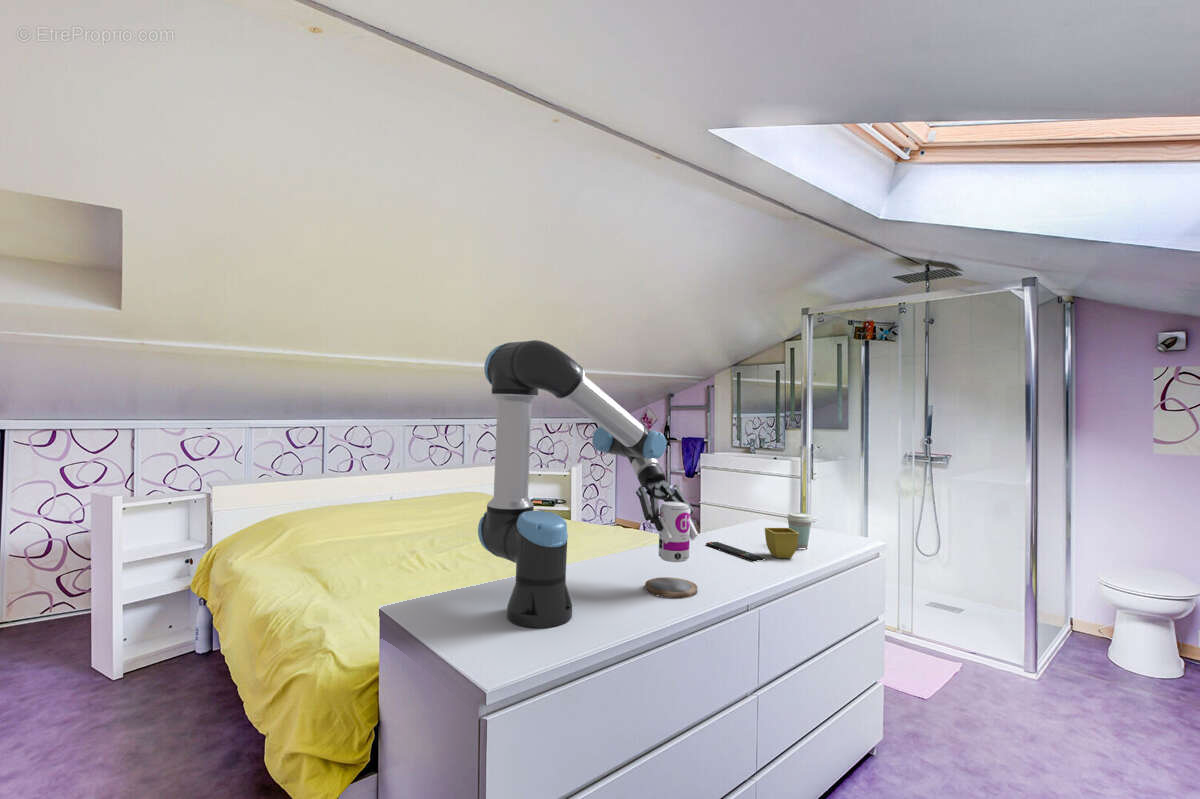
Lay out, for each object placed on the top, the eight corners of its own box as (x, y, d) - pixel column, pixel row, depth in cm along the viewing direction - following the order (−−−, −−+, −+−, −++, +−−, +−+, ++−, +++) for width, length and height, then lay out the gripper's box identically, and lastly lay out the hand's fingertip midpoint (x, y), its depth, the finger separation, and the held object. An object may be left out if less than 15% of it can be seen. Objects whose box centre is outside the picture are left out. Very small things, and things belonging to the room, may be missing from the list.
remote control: (752, 563, 187) (752, 559, 187) (704, 546, 208) (705, 542, 208) (764, 561, 189) (764, 557, 189) (716, 545, 210) (716, 541, 210)
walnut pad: (666, 601, 146) (666, 596, 146) (635, 585, 158) (635, 581, 158) (708, 593, 153) (708, 588, 154) (675, 579, 166) (675, 574, 166)
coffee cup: (807, 545, 212) (808, 512, 212) (814, 551, 203) (815, 517, 204) (784, 544, 213) (784, 511, 213) (789, 549, 204) (790, 516, 204)
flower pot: (763, 553, 199) (764, 527, 199) (787, 553, 200) (788, 527, 200) (773, 560, 190) (774, 532, 190) (799, 560, 191) (799, 533, 191)
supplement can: (695, 560, 156) (696, 505, 156) (672, 564, 151) (673, 507, 151) (675, 553, 162) (676, 500, 162) (652, 557, 158) (653, 502, 158)
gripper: (671, 478, 175) (705, 542, 161) (613, 481, 165) (643, 550, 151) (683, 462, 171) (718, 527, 157) (623, 464, 160) (656, 534, 146)
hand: (682, 538), depth 154 cm, fingers closed on supplement can, 8 cm apart
